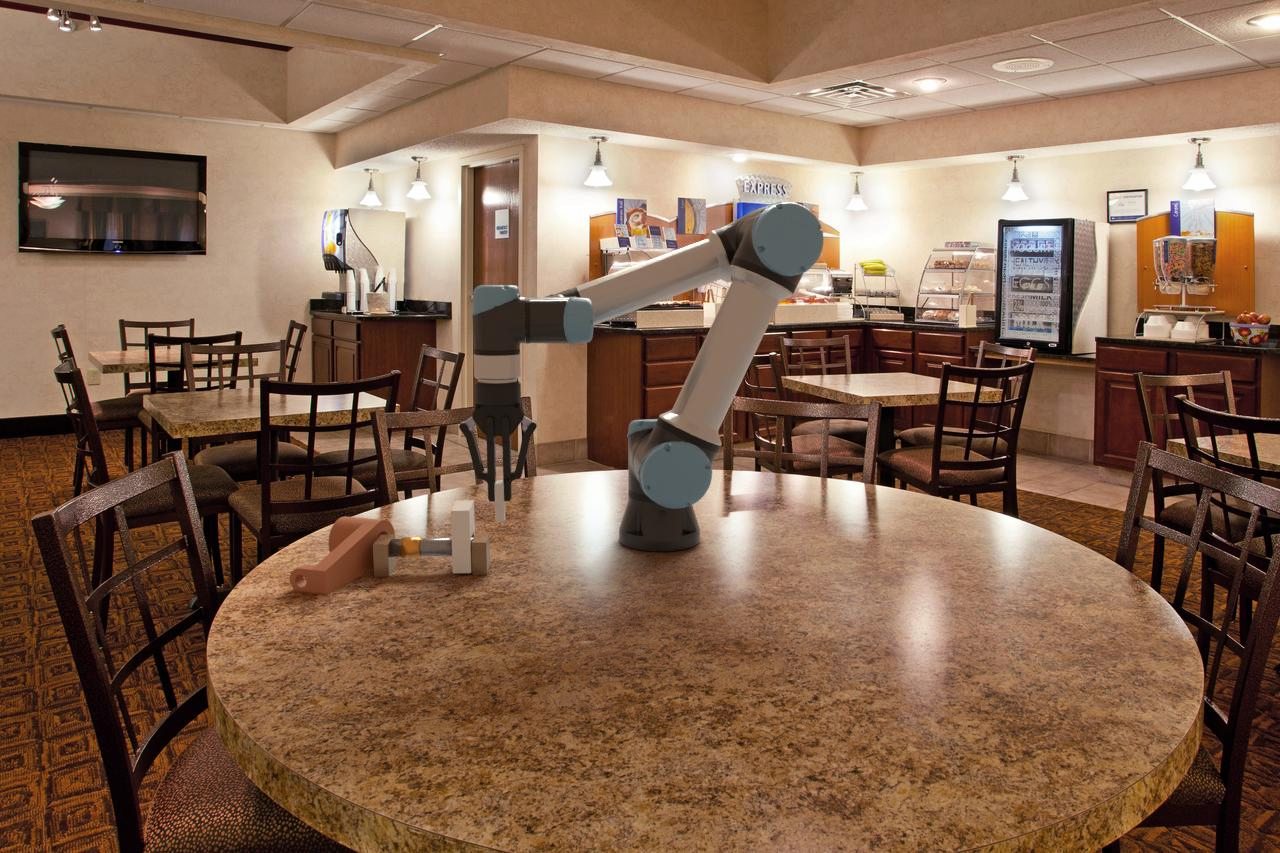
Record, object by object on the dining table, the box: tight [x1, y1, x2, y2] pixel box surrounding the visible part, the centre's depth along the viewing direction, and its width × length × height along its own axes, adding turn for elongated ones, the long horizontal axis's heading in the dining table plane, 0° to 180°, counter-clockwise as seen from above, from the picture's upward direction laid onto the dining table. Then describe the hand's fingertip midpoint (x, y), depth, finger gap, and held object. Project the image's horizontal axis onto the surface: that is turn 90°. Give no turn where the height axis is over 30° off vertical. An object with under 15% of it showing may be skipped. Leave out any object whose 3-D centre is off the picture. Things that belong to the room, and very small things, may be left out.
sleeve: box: [450, 499, 476, 574], centre depth 156 cm, size 3×7×11 cm, turn 4°
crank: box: [289, 516, 396, 595], centre depth 155 cm, size 20×8×8 cm, turn 163°
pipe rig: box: [373, 532, 491, 578], centre depth 156 cm, size 18×6×6 cm, turn 94°
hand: (500, 519), depth 156 cm, fingers closed
